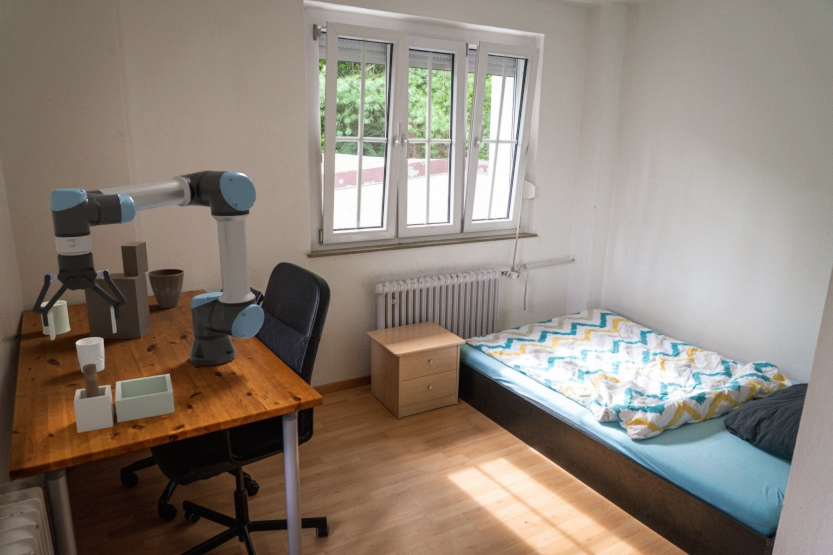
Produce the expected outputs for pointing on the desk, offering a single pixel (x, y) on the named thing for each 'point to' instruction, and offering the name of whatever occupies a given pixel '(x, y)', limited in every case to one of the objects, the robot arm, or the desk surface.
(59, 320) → the can
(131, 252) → the two-tier brown block
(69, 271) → the robot arm
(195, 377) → the desk surface
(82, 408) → the pen pot
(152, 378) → the bin
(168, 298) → the plant pot
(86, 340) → the white cup
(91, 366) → the dowel
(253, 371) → the desk surface
